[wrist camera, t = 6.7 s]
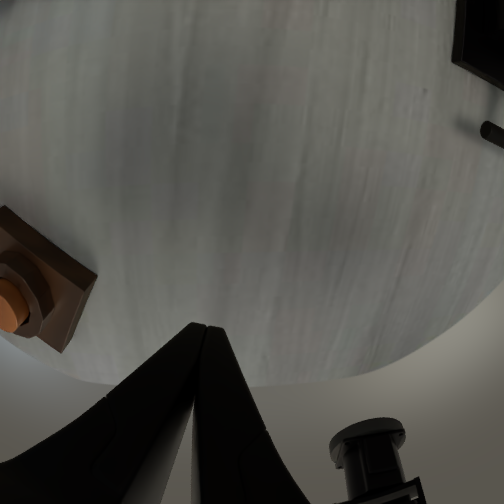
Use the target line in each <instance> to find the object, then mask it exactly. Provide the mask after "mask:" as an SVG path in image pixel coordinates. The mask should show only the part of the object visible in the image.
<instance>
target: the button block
mask: <svg viewBox="0 0 504 504" xmlns="http://www.w3.org/2000/svg"><path fill="white" fill-rule="evenodd" d="M2 278H5V279H8V280H9V281H10V282H12V283H13V284H14V285H15V286H16V287H18V289H19V290H20V292H21V293H22V295H23V296H24V298H25V299H26V301H27V304H28V307H29V314H28V317H27V318H26V319H25V320H24V321H23V323H22V324H21V325H20V326H19V327H18V328H17V330H16V331H14V332H12V333H14V334H16V335H19V336H22V337H26V338H31V337H34V336H37V337H39V338H40V339H41V340H43V341H44V342H45V343H47V344H48V345H50V346H51V347H52V348H54V349H55V350H57V351H58V352H60V353H61V354H62V352H63V351H64V349H65V348H66V346H67V345H68V343H69V342H70V340H71V339H72V337H73V334H74V332H75V329H76V326H77V324H78V321H79V319H80V316H81V314H82V311H83V309H84V307H85V304H86V302H87V299H88V297H89V295H90V292H91V290H92V288H93V285H94V283H95V281H96V279H97V275H95V274H94V273H93V272H91V271H90V270H88V269H87V268H85V267H84V266H83V265H81V264H80V263H78V262H77V261H75V260H74V259H73V258H71V257H70V256H69V255H67V254H66V253H64V252H63V251H62V250H60V249H59V248H58V247H56V246H55V245H54V244H52V243H51V242H50V241H48V240H47V239H46V238H44V237H43V236H42V235H40V234H39V233H38V232H37V231H35V230H34V229H33V228H32V227H30V226H29V225H28V224H26V223H25V222H24V221H23V220H21V219H20V218H19V217H18V216H17V215H15V214H14V213H13V212H12V211H10V210H9V209H8V208H7V207H6V206H2V207H0V279H2Z"/></svg>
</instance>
